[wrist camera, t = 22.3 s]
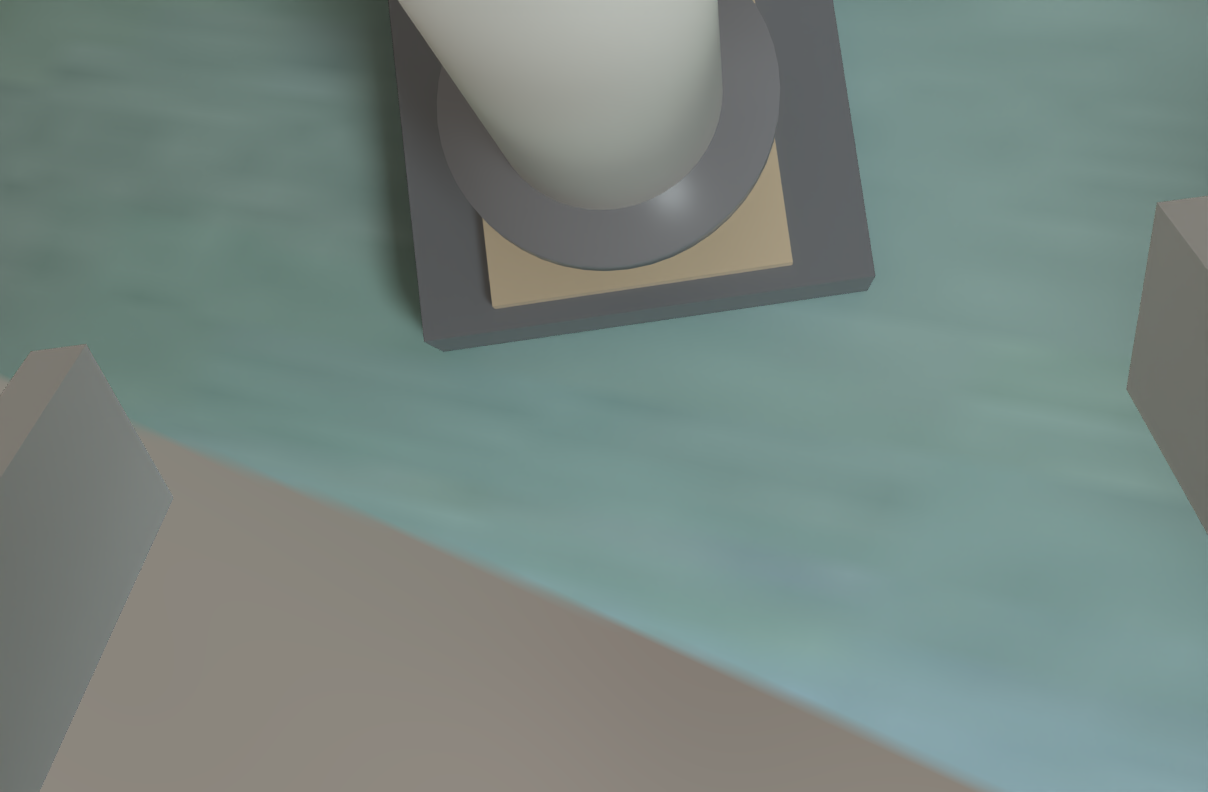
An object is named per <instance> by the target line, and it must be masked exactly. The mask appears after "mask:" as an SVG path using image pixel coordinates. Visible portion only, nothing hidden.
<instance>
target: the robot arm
mask: <svg viewBox="0 0 1208 792" xmlns="http://www.w3.org/2000/svg"><path fill="white" fill-rule="evenodd" d="M1126 389H1127V391H1128V393H1129V395H1130V396H1131V398H1132V400H1133V402H1134V404H1135V405H1136V407H1137V409H1138V411H1139V412H1140V414H1141V416H1142V418H1143V420H1144V421H1145V423H1146V425H1147V427H1148V429H1149V430H1150V432H1151V434H1152V436H1153V437H1154V439H1155V441H1156V443H1157V445H1158V446H1159V448H1160V450H1161V452H1162V454H1163V455H1164V457H1165V459H1166V461H1167V462H1168V464H1169V466H1170V468H1171V470H1172V471H1173V473H1174V475H1175V477H1176V479H1177V480H1178V482H1179V484H1180V486H1181V487H1182V489H1183V491H1184V493H1185V495H1186V496H1187V498H1188V500H1189V502H1190V504H1191V505H1192V507H1193V509H1194V511H1195V512H1196V514H1197V516H1198V518H1199V520H1200V521H1201V523H1202V525H1203V527H1204V529H1205V530H1206V532H1207V534H1208V196H1203V197H1195V198H1188V199H1180V200H1173V201H1165V202H1158V203H1157V205H1156V212H1155V218H1154V224H1153V230H1152V236H1151V242H1150V248H1149V254H1148V260H1147V266H1146V273H1145V279H1144V285H1143V291H1142V297H1141V303H1140V309H1139V315H1138V321H1137V327H1136V333H1135V340H1134V346H1133V352H1132V358H1131V364H1130V370H1129V376H1128V382H1127V388H1126ZM172 499H173V496H172V494H171V492H170V491H169V489H168V487H167V485H166V484H165V482H164V480H163V478H162V476H161V475H160V473H159V471H158V469H157V468H156V466H155V464H154V462H153V461H152V459H151V457H150V455H149V453H148V452H147V450H146V448H145V447H144V445H143V443H142V441H141V439H140V438H139V436H138V434H137V432H136V431H135V429H134V427H133V425H132V424H131V422H130V420H129V418H128V417H127V415H126V413H125V411H124V410H123V408H122V406H121V404H120V403H119V401H118V399H117V397H116V396H115V394H114V392H113V390H112V388H111V387H110V385H109V383H108V381H107V380H106V378H105V376H104V374H103V373H102V371H101V369H100V367H99V366H98V364H97V362H96V360H95V359H94V357H93V355H92V353H91V352H90V350H89V348H88V346H87V345H86V344H83V345H76V346H68V347H61V348H53V349H45V350H38V351H31V352H30V353H29V355H28V356H27V358H26V359H25V360H24V362H23V363H22V365H21V366H20V368H19V369H18V370H17V372H16V373H15V375H14V376H13V378H12V379H11V380H10V382H9V383H8V385H7V386H6V388H5V389H4V390H3V392H2V394H1V395H0V792H40V789H41V787H42V785H43V782H44V780H45V778H46V776H47V774H48V772H49V770H50V767H51V765H52V763H53V761H54V759H55V756H56V754H57V752H58V750H59V748H60V745H61V743H62V741H63V739H64V737H65V734H66V732H67V730H68V728H69V726H70V724H71V721H72V719H73V717H74V715H75V713H76V710H77V708H78V706H79V704H80V702H81V699H82V697H83V695H84V693H85V691H86V688H87V686H88V684H89V682H90V680H91V677H92V675H93V673H94V671H95V669H96V666H97V664H98V662H99V660H100V658H101V655H102V653H103V651H104V649H105V647H106V644H107V642H108V640H109V638H110V636H111V633H112V631H113V629H114V627H115V625H116V622H117V620H118V618H119V616H120V614H121V611H122V609H123V607H124V605H125V603H126V601H127V598H128V596H129V594H130V591H131V590H132V587H133V585H134V583H135V581H136V579H137V576H138V574H139V572H140V570H141V567H142V565H143V563H144V561H145V559H146V556H147V554H148V552H149V550H150V547H151V546H152V543H153V541H154V539H155V537H156V535H157V532H158V530H159V528H160V526H161V523H162V521H163V519H164V517H165V515H166V513H167V510H168V508H169V506H170V504H171V502H172Z"/></svg>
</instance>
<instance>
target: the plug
mask: <svg viewBox="0 0 1208 792" xmlns="http://www.w3.org/2000/svg"><path fill="white" fill-rule="evenodd" d="M398 1H399V3H400V4H401V6H402V7H403V9H404V10H405V12H406V13H407V15H408V16H409V17H410V19H411V20H412V22H413V23H414V25H415V26H416V28H417V29H418V31H419V32H420V34H421V35H422V36H423V38H424V39H425V41H426V42H427V44H428V45H429V47H430V48H431V50H432V51H433V52H434V54H435V55H436V57H437V58H438V60H439V61H440V63H441V64H442V67H441V72H440V76H439V81H438V93H437V123H438V129H439V135H440V140H441V145H442V148H443V152H444V155H445V158H446V161H447V164H448V166H449V169H450V171H451V173H452V175H453V177H454V179H455V181H456V183H457V185H458V187H459V188H460V190H461V191H462V193H463V194H464V196H465V197H466V199H467V200H468V202H469V203H470V204H471V205H472V206H473V208H474V209H475V210H476V211H477V212H478V213H479V214H480V216H481V217H482V218H483V219H484V220H485V221H486V222H487V223H488V224H489V225H490V226H491V227H492V228H493V229H494V230H495V231H497V232H498V233H499V234H500V235H501V236H502V237H503V238H505V239H506V240H508V241H509V242H511V243H512V244H514V245H515V246H517V247H518V248H520V249H521V250H523V251H525V252H527V253H529V254H531V255H534V256H536V257H538V258H540V259H542V260H545V261H548V262H551V263H554V264H557V265H561V266H564V267H570V268H576V269H581V270H593V271H615V270H626V269H633V268H637V267H642V266H647V265H651V264H654V263H657V262H660V261H663V260H665V259H668V258H671V257H673V256H675V255H677V254H679V253H681V252H683V251H685V250H687V249H689V248H691V247H693V246H695V245H696V244H698V243H699V242H701V241H702V240H704V239H705V238H707V237H708V236H709V235H711V234H712V233H713V232H715V231H716V230H717V229H718V228H719V227H720V226H721V225H723V224H724V223H725V222H726V221H727V220H728V219H729V218H730V217H731V216H732V215H733V214H734V213H735V211H736V210H737V209H738V208H739V207H740V206H741V205H742V203H743V202H744V201H745V199H746V198H747V197H748V195H749V194H750V192H751V191H752V189H753V188H754V186H755V185H756V183H757V181H758V179H759V177H760V175H761V173H762V171H763V169H764V167H765V165H766V163H767V160H768V157H769V154H770V151H771V149H772V146H773V143H774V138H775V133H776V128H777V123H778V116H779V101H780V79H779V66H778V62H777V57H776V52H775V48H774V44H773V41H772V39H771V36H770V33H769V30H768V28H767V25H766V23H765V21H764V19H763V17H762V15H761V14H760V12H759V10H758V8H757V6H756V4H755V3H754V2H753V0H398Z"/></svg>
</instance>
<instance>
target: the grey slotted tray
mask: <svg viewBox="0 0 1208 792" xmlns="http://www.w3.org/2000/svg"><path fill="white" fill-rule="evenodd" d="M753 2H754V3H755V4H756V6H757V8H758V10H759V12H760V14H761V15H762V17H763V19H764V21H765V23H766V25H767V28H768V30H769V33H770V36H771V39H772V41H773V44H774V48H775V52H776V57H777V62H778V66H779V79H780V101H779V116H778V123H777V128H776V133H775V138H774V143H773V146H772V149H771V151H770V154H769V157H768V160H767V163H766V165H765V167H764V169H763V171H762V173H761V175H760V177H759V179H758V181H757V183H756V185H755V186H754V188H753V189H752V191H751V192H750V194H749V195H748V197H747V198H746V199H745V201H744V202H743V203H742V205H741V206H740V207H739V208H738V209H737V210H736V211H735V213H734V214H733V215H732V216H731V217H730V218H729V219H728V220H727V221H726V222H725V223H724V224H723V225H721V226H720V227H719V228H718V229H717V230H716V231H715V232H713V233H712V234H711V235H709V236H708V237H707V238H705V239H704V240H702V241H701V242H699V243H698V244H696V245H695V246H693V247H691V248H689V249H687V250H685V251H683V252H681V253H679V254H677V255H675V256H673V257H671V258H668V259H665V260H663V261H660V262H657V263H654V264H651V265H647V266H642V267H637V268H633V269H626V270H615V271H593V270H581V269H576V268H570V267H564V266H561V265H557V264H554V263H551V262H548V261H545V260H542V259H540V258H538V257H536V256H534V255H531V254H529V253H527V252H525V251H523V250H521V249H520V248H518V247H517V246H515V245H514V244H512V243H511V242H509V241H508V240H506V239H505V238H503V237H502V236H501V235H500V234H499V233H498V232H497V231H495V230H494V229H493V228H492V227H491V226H490V225H489V224H488V223H487V222H486V221H485V220H484V219H483V218H482V217H481V216H480V214H479V213H478V212H477V211H476V210H475V209H474V208H473V206H472V205H471V204H470V203H469V202H468V200H467V199H466V197H465V196H464V194H463V193H462V191H461V190H460V188H459V187H458V185H457V183H456V181H455V179H454V177H453V175H452V173H451V171H450V169H449V166H448V164H447V161H446V158H445V155H444V152H443V148H442V145H441V140H440V135H439V129H438V123H437V93H438V81H439V76H440V72H441V67H442V64H441V63H440V61H439V60H438V58H437V57H436V55H435V54H434V52H433V51H432V50H431V48H430V47H429V45H428V44H427V42H426V41H425V39H424V38H423V36H422V35H421V34H420V32H419V31H418V29H417V28H416V26H415V25H414V23H413V22H412V20H411V19H410V17H409V16H408V15H407V13H406V12H405V10H404V9H403V7H402V6H401V4H400V3H399V1H398V0H388V4H389V13H390V23H391V32H392V42H393V51H394V61H395V70H396V80H397V89H398V99H399V108H400V118H401V127H402V137H403V146H404V155H405V165H406V174H407V184H408V193H409V203H410V212H411V222H412V231H413V241H414V250H415V260H416V269H417V279H418V288H419V298H420V307H421V317H422V326H423V336H424V342H426V343H428V344H430V345H432V346H434V347H435V348H437V349H439V350H441V351H443V352H444V351H451V350H458V349H465V348H472V347H479V346H486V345H492V344H499V343H506V342H513V341H520V340H527V339H534V338H541V337H548V336H555V335H562V334H569V333H576V332H583V331H590V330H597V329H604V328H610V327H617V326H624V325H631V324H638V323H645V322H652V321H659V320H666V319H673V318H680V317H687V316H694V315H701V314H708V313H715V312H721V311H728V310H735V309H742V308H749V307H756V306H763V305H770V304H777V303H784V302H791V301H798V300H805V299H812V298H819V297H826V296H832V295H839V294H846V293H853V292H860V291H867V290H868V288H869V287H870V285H871V283H872V281H873V279H874V278H875V271H874V264H873V258H872V251H871V245H870V238H869V232H868V225H867V219H866V212H865V206H864V199H863V193H862V186H861V180H860V173H859V167H858V160H857V154H856V147H855V141H854V134H853V128H852V121H851V115H850V108H849V102H848V96H847V89H846V83H845V76H844V70H843V63H842V57H841V50H840V44H839V37H838V31H837V24H836V18H835V11H834V5H833V0H753Z"/></svg>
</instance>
